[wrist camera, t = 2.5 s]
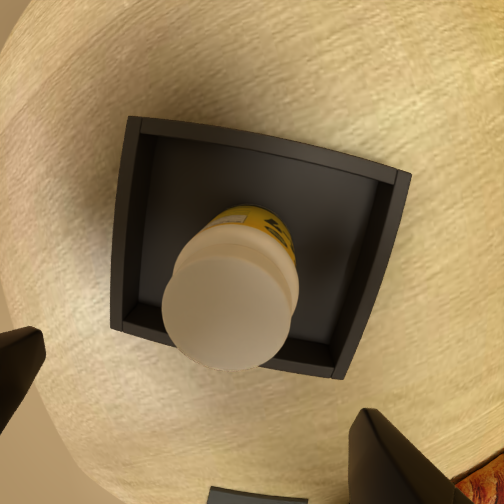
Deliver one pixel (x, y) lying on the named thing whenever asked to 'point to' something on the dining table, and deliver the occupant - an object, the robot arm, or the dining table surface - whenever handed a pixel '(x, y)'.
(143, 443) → the dining table surface
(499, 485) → the croissant
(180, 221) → the tray
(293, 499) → the mat
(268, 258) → the supplement bottle
